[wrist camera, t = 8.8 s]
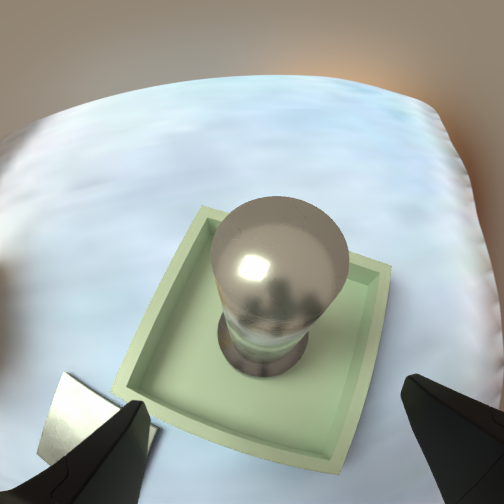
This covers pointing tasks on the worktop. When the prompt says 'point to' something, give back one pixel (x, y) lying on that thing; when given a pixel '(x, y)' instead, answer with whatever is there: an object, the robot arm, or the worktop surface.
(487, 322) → the worktop surface
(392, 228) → the worktop surface
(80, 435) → the stud plate
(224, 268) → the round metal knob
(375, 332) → the bin
